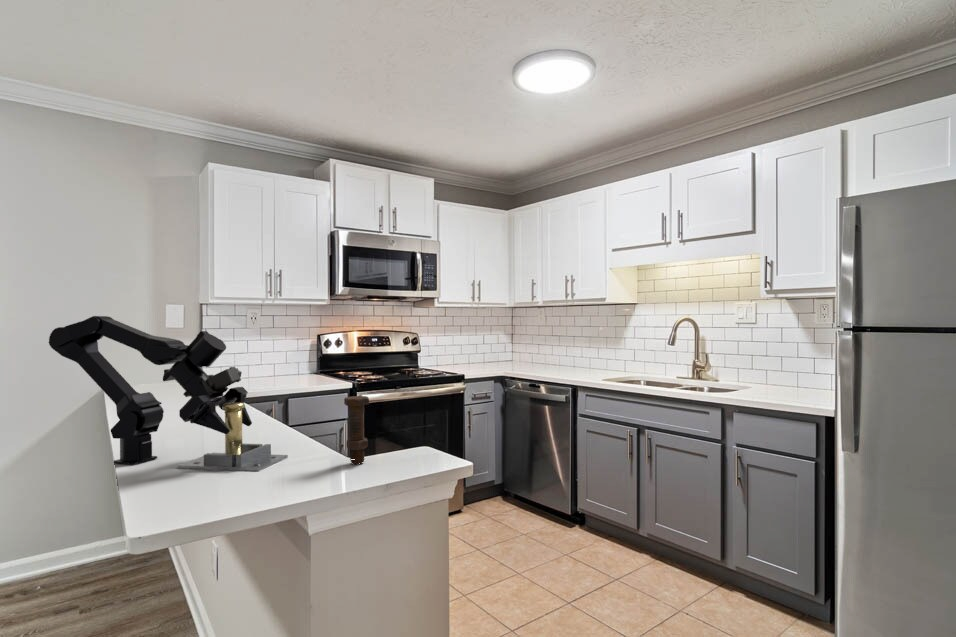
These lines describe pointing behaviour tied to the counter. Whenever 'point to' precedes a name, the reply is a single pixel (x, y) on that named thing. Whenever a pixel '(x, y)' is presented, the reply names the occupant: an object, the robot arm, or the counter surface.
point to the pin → (233, 427)
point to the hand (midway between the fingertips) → (239, 428)
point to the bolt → (356, 427)
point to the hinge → (237, 459)
